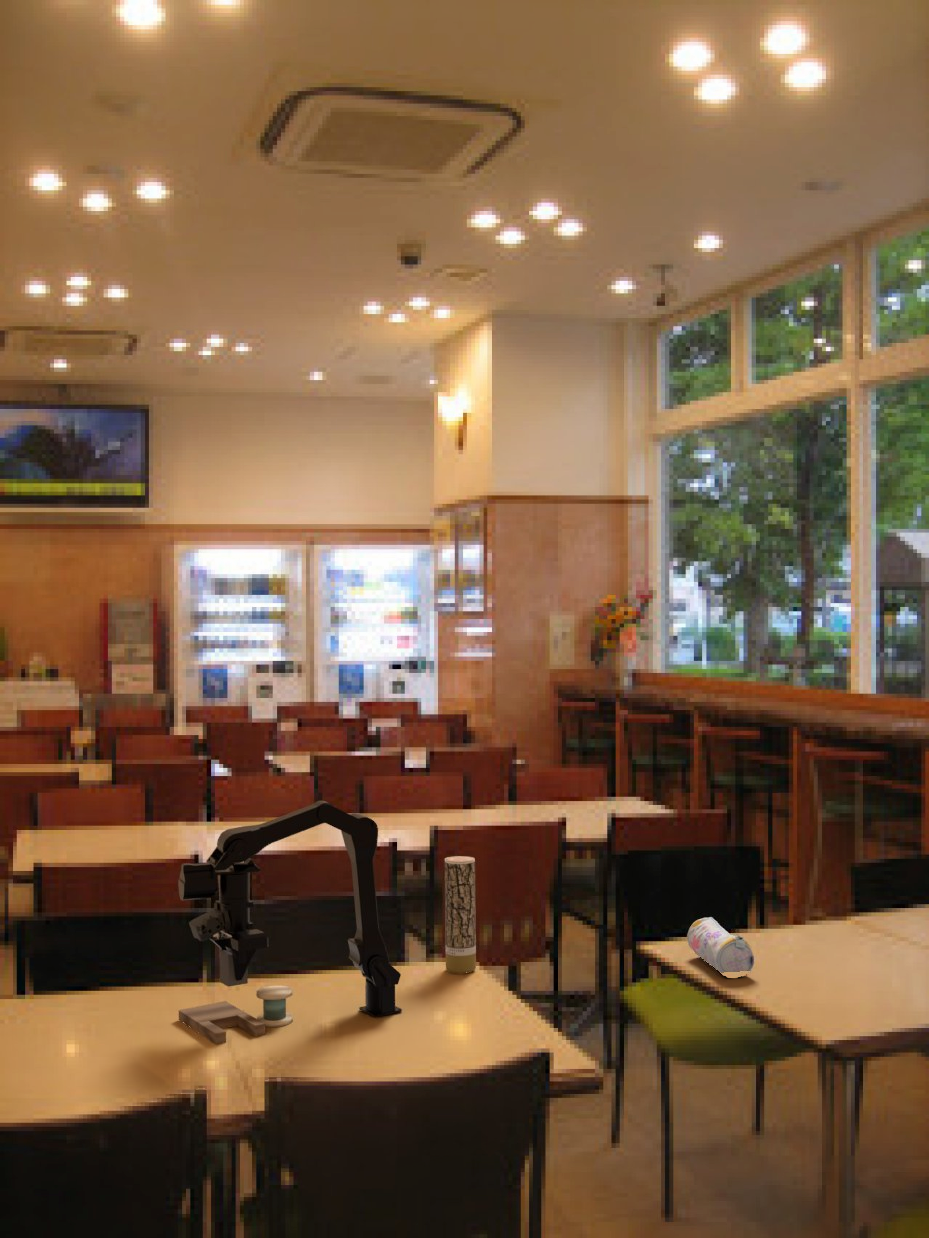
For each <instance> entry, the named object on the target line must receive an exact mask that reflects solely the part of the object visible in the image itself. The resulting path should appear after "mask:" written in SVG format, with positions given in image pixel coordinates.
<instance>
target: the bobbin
mask: <svg viewBox="0 0 929 1238" xmlns="http://www.w3.org/2000/svg"><path fill="white" fill-rule="evenodd" d="M255 995H256V998H258V999H260V1000H262V1001H263V1002H262V1005H263V1007H262V1011H263V1013H261V1014H259V1015H257V1016H256V1019H258V1020H260V1021H261V1022H263V1023H265V1028H266V1027H267V1028H277V1027H279V1028H280V1027H283V1026H284V1027H285V1026H287V1025H290V1024H291V1023H293V1019H294V1017H293V1016H294V1015H293V1014H292V1013H289V1012H287V998H291V997H292V996H293V988H292V987H290V986H286V985H269V986H263V987H260V988H259V989H257V990H256V994H255Z"/></svg>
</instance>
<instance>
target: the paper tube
mask: <svg viewBox="0 0 929 1238" xmlns="http://www.w3.org/2000/svg"><path fill="white" fill-rule="evenodd" d="M444 915H445V916H444V920H445V921H444V922H445V923H444V927H445V928H444V929H445V931H444V933H445V934H444V935H445V969H446V971H447V972H448V973H451V972H453V973H452V974H456V973H465V974H467V973H466V972H470V973H473V972H474V971H475V970H476V969H477V956H476V955H477V949H476V948H477V945H476V943H477V938H476V937H477V934H476V933H477V932H476V931H477V930H476V928H477V927H476V926H477V925H476V922H477V921H476V915H477V914H476V860H475V857H473V856H467V855H465V856H464V855H463V856H462V855H459V856H458V855H455V856H448V857H445V858H444ZM472 971H473V972H472Z"/></svg>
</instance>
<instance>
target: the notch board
mask: <svg viewBox="0 0 929 1238" xmlns="http://www.w3.org/2000/svg"><path fill="white" fill-rule="evenodd" d="M179 1020H181V1021H180V1022H181V1023H182V1022H184V1023H185V1024H187V1025H189V1026H190V1027H191V1028H192V1029H191V1028H190V1027H189V1028H190V1029H191V1030H193V1031H195V1032H196V1031H197V1032H196V1033H198V1032H199V1033H200V1035H201V1036H202V1035H203V1036H202V1037H203V1038H205V1037H206V1039H207V1040H209V1041H210V1042H211V1043H213V1044H215V1045H221V1044H225V1043H227V1031H226V1030H225V1029H226V1027H228V1028H231V1027H236V1025H237V1026H238V1027H239V1028H242V1029H243V1030H244V1031H246V1032H248V1033H249V1034H251V1035H253V1036H255V1037H258V1036H263V1035H266V1027H265V1023H263V1022H261V1021H260V1020H258V1019H257V1017H254V1016H252V1015H251V1014H249V1013H248V1012H246V1011H244V1010H242V1009H240V1008H238V1007H236V1006H235V1005H233V1004H231V1003H230V1002H228V1001H227V1000H224V1001H218V1002H214V1003H209V1004H204V1005H198V1006H194V1007H193V1006H192V1007H188V1008H183V1009H179V1010H178V1021H179ZM184 1023H183V1024H184ZM185 1024H184V1025H185ZM187 1025H186V1026H187ZM221 1028H223V1029H221ZM199 1033H198V1034H199Z"/></svg>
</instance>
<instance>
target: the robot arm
mask: <svg viewBox="0 0 929 1238" xmlns="http://www.w3.org/2000/svg"><path fill="white" fill-rule="evenodd" d="M323 824H327V825H329V826H330V827H333V828H335V829H338V830H339V831H340V833H341V835H342V839H343V844H344V846H345V849H346V851H347V854H348V856H349V860H350V864H351V865H350V866H351V875H352V886H353V888H352V889H353V898H354V909H355V910H354V911H355V922H356V932H355V934H354V938H348V939H347V943H348V948H349V955H348V959H350V960H351V961H352V964H353V965H354V967H355V968H357V969H358V970H359V971H360V972H361V975H362V977H363V978H365V987H364V990H365V995H364V996H365V1005H364V1006H359V1007H358V1008H359V1011H361V1012H363V1013H365V1014H367V1015H368V1016H371V1017H374V1018H378V1017H383V1016H384V1017H385V1016H388V1015H393V1014H397V1013H401V1012H403V1009H402V1008H400V1007H399V1006H396V985H398V984H399V982H400V979H401V977H402V976H401V975H402V974H401V973H400V971H399V970H397V969H396V968H395V967H394V966H393V965H391V964H390V957H389V954H388V951H387V950H388V949H387V946H386V944H385V941H384V939H383V936H382V933H381V931H380V926H379V913H378V904H377V903H378V901H377V891H376V889H377V888H376V878H375V867H374V858H375V856H376V855H375V854H376V851H377V848H378V841H379V839H378V837H379V828H378V824H377V822H376V821H374V820H373V819H372V818H370V817H368V816H366V815H363V814H360V813H358V812H356V813H354V812H353V813H351V814H350V813H348V812H345V811H343V810H342V809H340V808H337V807H335V806H334V805H333V804H332V803H329V802H327V801H324V800H317V801H315V802H314V803H313V804H310V805H307V806H305V807H303V808H302V807H301V808H300V809H297V810H295V811H292V812H289V813H286V814H284V815H281V816H279V817H276V818H273V819H271V820H268V821H266V822H263V823H259V824H253V825H252V824H251V825H244V826H242V825H241V826H237V827H233V828H232V827H231V828H228V829H226V830H224V831H222V832H221V833H220V834H219V837H218V839H217V841H216V847H215V848H214V850H212V853H210V855H209V857H208V858H207V859H206V861H205V862H202V863H189V862H187V863H186V862H185V863H182V864H181V866H180V867H181V870H180V873H179V879H178V883H177V884H178V894H179V899H180V901H193V900H204V899H212V898H213V895H216V894H217V892H218V890H219V893H218V894H219V895H218V896H219V897H218V898H219V900H215V902H214V904H213V909H212V910H211V911H208V912H206V913H203V914H201V915H199V916H197V917H195V918H193V919H191V920H190V921H189V922H188V924H189V927H190V930H191V933H192V936H193V938H194V939H197V940H198V941H199V942H205V941H207V940H210V941H211V942H213V943H214V944H215V945H216V946H217V947H218V949H219V951H220V950H227V949H228V950H229V951H230V952H231V953H232V955H233V963H234V971H235V977H236V980H237V981H239V980H242V978H243V976H244V974H245V972H246V970H247V968H248V967H249V965H250V963H251V961H252V959H253V957H254V956H255V953H256V952H257V950H261V949H267V948H269V945H270V944H269V940H270V939H269V935H267V934H266V933H265V932H264V931H262V930H259V929H257V928H256V929H254V922H251V921H250V909H251V908H254V901H253V900H250V892H251V891H250V889H251V888H250V884H251V883H250V874H251V873H260V871H261V868H260V867H259V866H258V865H256V864H255V862H254V860H253V859H252V857H254V856H255V855H257V854H260V852H261V851H262V850H264V849H265V848H266V847H268V846H269V845H271V844H274V843H276V842H279V841H281V840H284V839H286V838H289V837H292V836H294V835H297V834H299V833H301V832H305V831H307V830H309V829H312V828H314V827H318V826H320V825H323ZM226 948H227V949H226Z"/></svg>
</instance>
